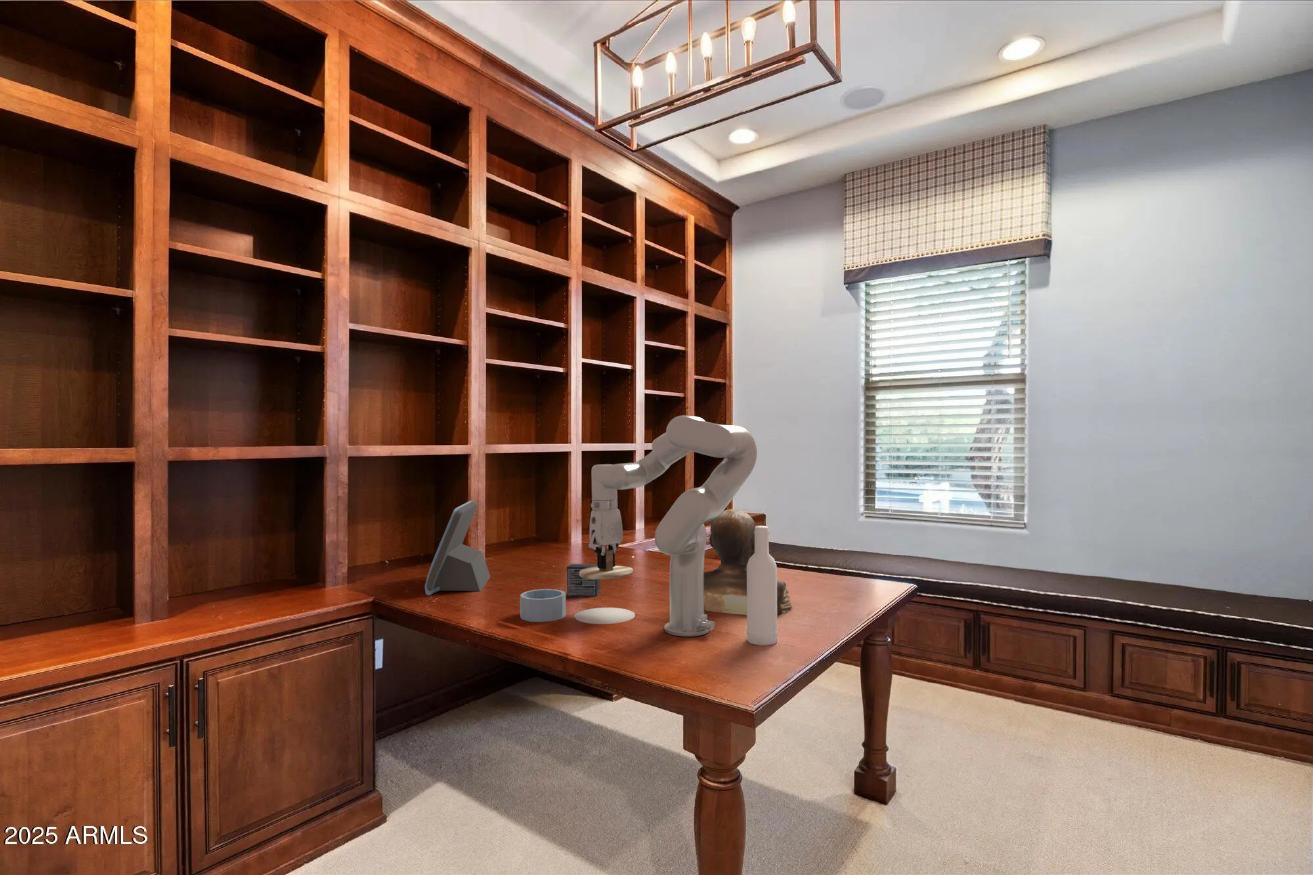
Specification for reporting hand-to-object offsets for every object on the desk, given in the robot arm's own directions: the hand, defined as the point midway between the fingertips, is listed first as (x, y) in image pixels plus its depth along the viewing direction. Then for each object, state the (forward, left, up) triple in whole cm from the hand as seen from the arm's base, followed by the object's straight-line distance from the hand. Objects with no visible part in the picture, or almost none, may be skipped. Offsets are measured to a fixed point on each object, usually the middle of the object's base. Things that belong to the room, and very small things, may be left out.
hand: (606, 566), depth 192 cm
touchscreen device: (+74, +3, -16) cm, 76 cm away
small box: (+26, -15, -15) cm, 33 cm away
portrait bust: (-21, -37, -15) cm, 45 cm away
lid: (0, 0, -2) cm, 2 cm away
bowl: (+15, +12, -15) cm, 24 cm away
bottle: (-47, -10, -15) cm, 51 cm away
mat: (+1, 0, -15) cm, 15 cm away
